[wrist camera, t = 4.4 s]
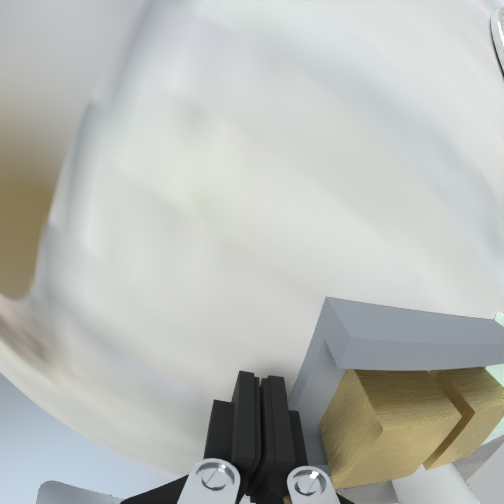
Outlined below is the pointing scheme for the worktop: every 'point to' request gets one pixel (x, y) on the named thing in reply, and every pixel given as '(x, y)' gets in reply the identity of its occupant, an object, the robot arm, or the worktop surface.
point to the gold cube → (383, 425)
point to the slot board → (383, 353)
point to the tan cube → (467, 412)
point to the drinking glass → (434, 487)
